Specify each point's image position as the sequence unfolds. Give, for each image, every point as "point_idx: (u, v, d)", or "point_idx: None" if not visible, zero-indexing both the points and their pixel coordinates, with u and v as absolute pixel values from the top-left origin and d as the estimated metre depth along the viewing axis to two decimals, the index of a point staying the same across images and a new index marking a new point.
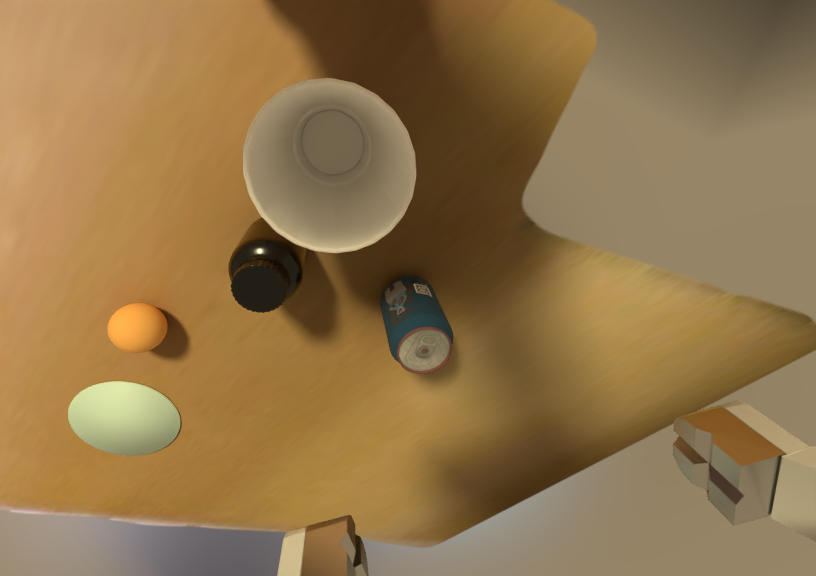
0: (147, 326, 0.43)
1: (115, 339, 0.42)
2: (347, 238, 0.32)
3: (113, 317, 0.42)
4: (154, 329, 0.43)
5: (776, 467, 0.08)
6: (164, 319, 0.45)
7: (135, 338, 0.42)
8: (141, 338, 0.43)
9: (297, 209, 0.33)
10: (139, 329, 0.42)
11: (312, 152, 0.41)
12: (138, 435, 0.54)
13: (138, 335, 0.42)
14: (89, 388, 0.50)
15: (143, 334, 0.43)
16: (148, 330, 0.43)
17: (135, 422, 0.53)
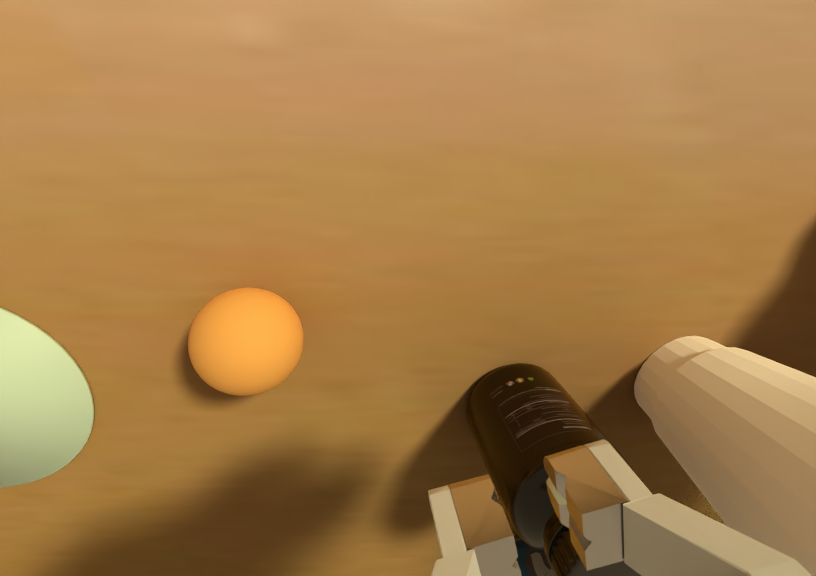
0: (284, 369, 0.20)
1: (219, 346, 0.18)
2: None
3: (252, 304, 0.19)
4: (282, 379, 0.20)
5: (619, 514, 0.08)
6: None
7: (252, 376, 0.19)
8: (258, 382, 0.19)
9: None
10: (274, 366, 0.19)
11: None
12: None
13: (262, 375, 0.19)
14: None
15: (268, 378, 0.19)
16: (278, 376, 0.20)
17: None
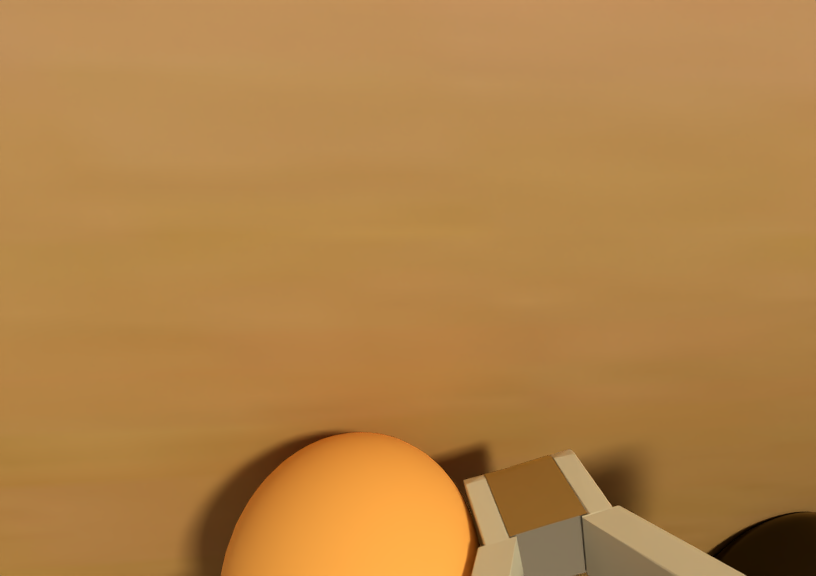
0: None
1: None
2: None
3: (392, 522, 0.07)
4: None
5: (579, 527, 0.08)
6: None
7: None
8: None
9: None
10: None
11: None
12: None
13: None
14: None
15: None
16: None
17: None
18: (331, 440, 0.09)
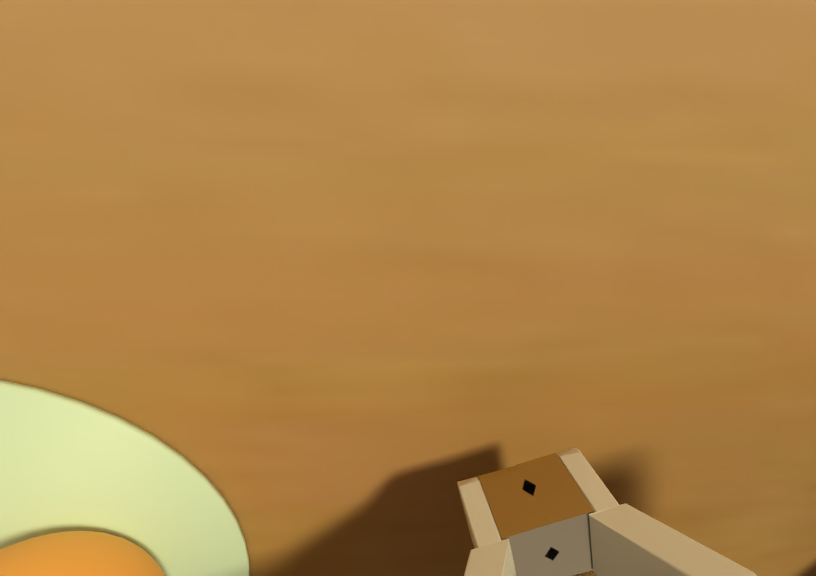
0: None
1: None
2: None
3: (58, 552, 0.08)
4: None
5: (586, 525, 0.08)
6: None
7: None
8: None
9: None
10: None
11: None
12: None
13: None
14: (53, 404, 0.09)
15: None
16: None
17: None
18: None
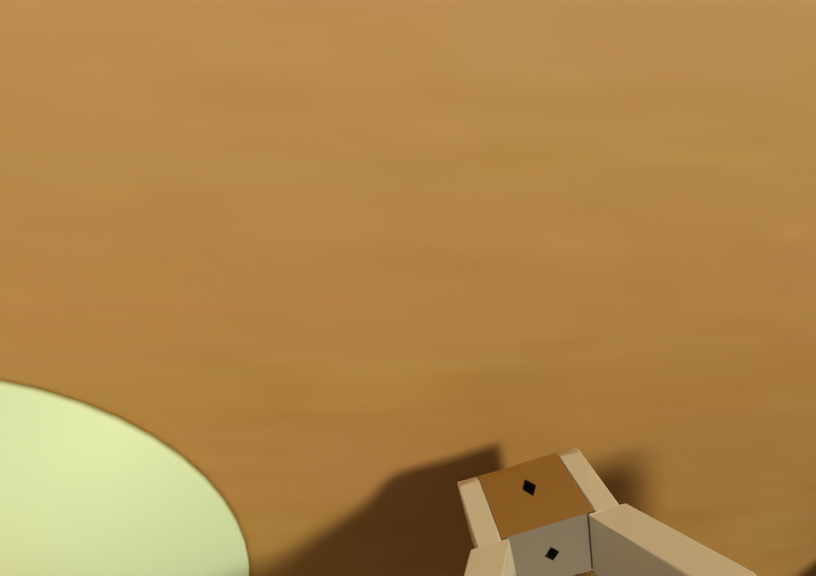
0: None
1: None
2: None
3: None
4: None
5: (586, 525, 0.08)
6: None
7: None
8: None
9: None
10: None
11: None
12: None
13: None
14: (53, 404, 0.09)
15: None
16: None
17: None
18: None
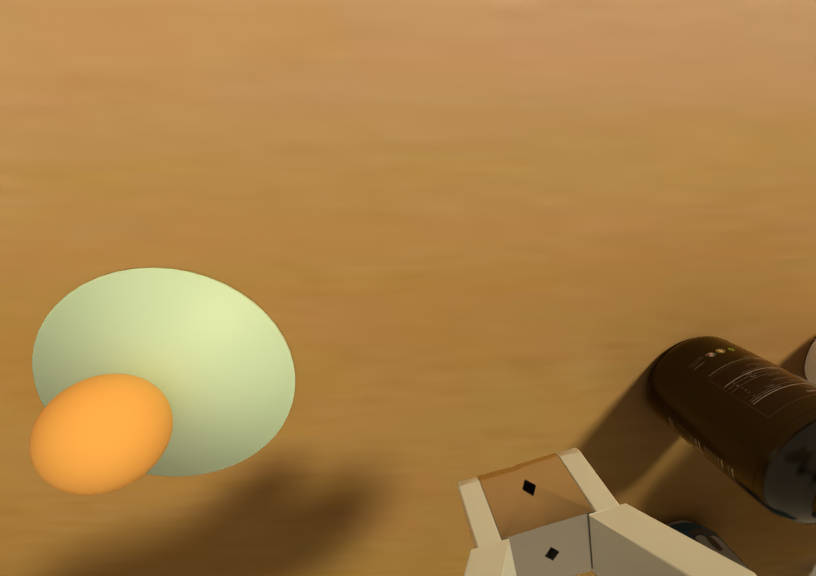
0: (107, 484, 0.18)
1: (32, 452, 0.17)
2: None
3: (75, 411, 0.17)
4: (116, 488, 0.18)
5: (586, 525, 0.08)
6: (158, 459, 0.20)
7: (63, 488, 0.17)
8: (74, 492, 0.18)
9: None
10: (86, 484, 0.17)
11: None
12: None
13: (73, 489, 0.17)
14: (213, 283, 0.20)
15: (84, 491, 0.18)
16: (101, 489, 0.18)
17: (182, 398, 0.22)
18: (106, 374, 0.19)
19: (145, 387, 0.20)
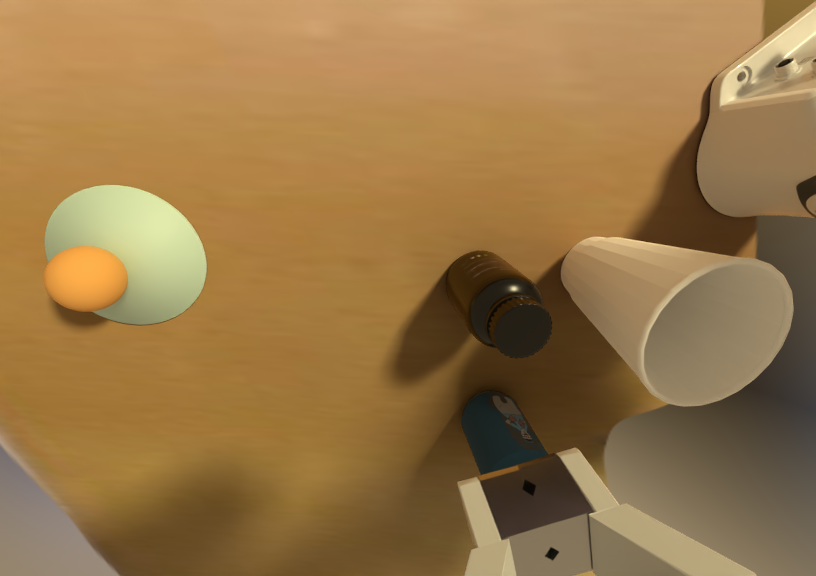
0: (86, 301, 0.32)
1: (45, 278, 0.31)
2: None
3: (69, 258, 0.31)
4: (91, 307, 0.33)
5: (586, 525, 0.08)
6: (117, 298, 0.34)
7: (61, 299, 0.31)
8: (68, 304, 0.32)
9: None
10: (74, 297, 0.31)
11: None
12: None
13: (67, 300, 0.31)
14: (152, 196, 0.34)
15: (74, 303, 0.32)
16: (83, 304, 0.32)
17: (135, 270, 0.36)
18: (88, 246, 0.34)
19: (110, 254, 0.34)
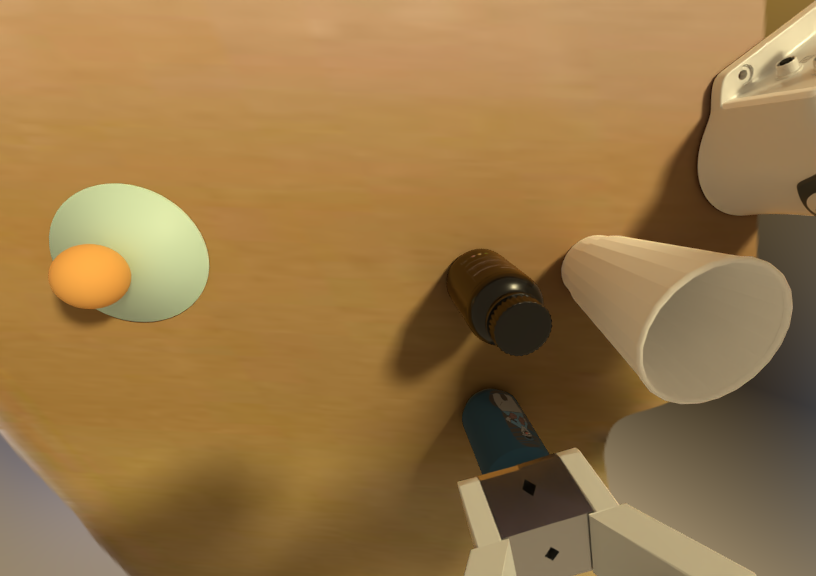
0: (90, 298, 0.32)
1: (50, 276, 0.32)
2: None
3: (73, 255, 0.32)
4: (95, 304, 0.33)
5: (586, 525, 0.08)
6: (121, 296, 0.35)
7: (66, 297, 0.32)
8: (72, 301, 0.32)
9: None
10: (79, 295, 0.32)
11: None
12: None
13: (72, 298, 0.32)
14: (155, 194, 0.35)
15: (78, 301, 0.32)
16: (87, 301, 0.32)
17: (138, 268, 0.37)
18: (92, 244, 0.34)
19: (114, 252, 0.34)
